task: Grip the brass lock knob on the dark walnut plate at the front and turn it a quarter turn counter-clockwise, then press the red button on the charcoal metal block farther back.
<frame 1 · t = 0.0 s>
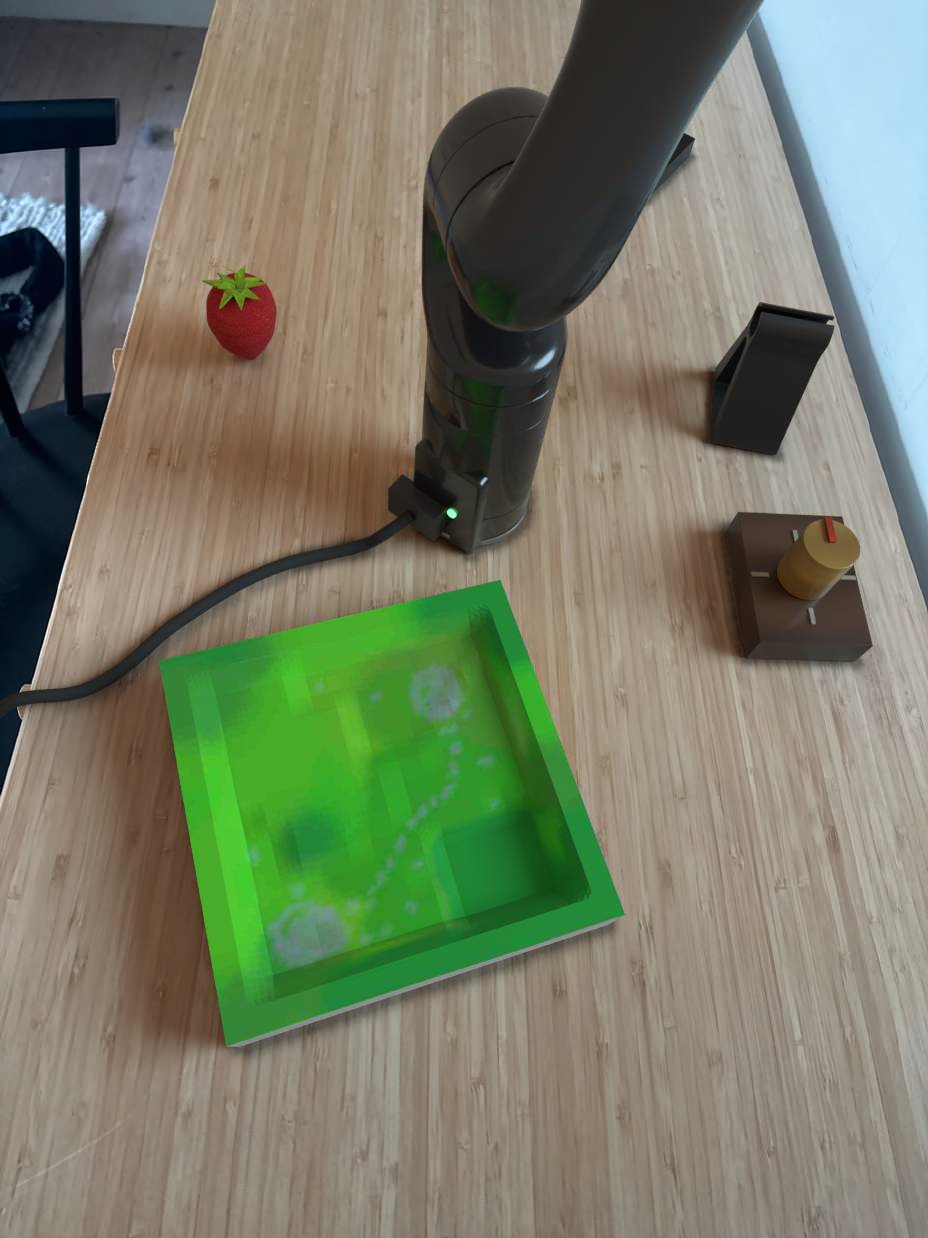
button: (639, 119, 92), point 4 cm above the table, slide at 0.1 cm
lock plate: (787, 594, 72), on the table
button block: (628, 158, 96), on the table
lock knob: (818, 559, 67), point 6 cm above the table, hinge at 0.0°
strawberry: (250, 358, 79), on the table
tray: (382, 802, 62), on the table
phone stand: (742, 413, 81), on the table
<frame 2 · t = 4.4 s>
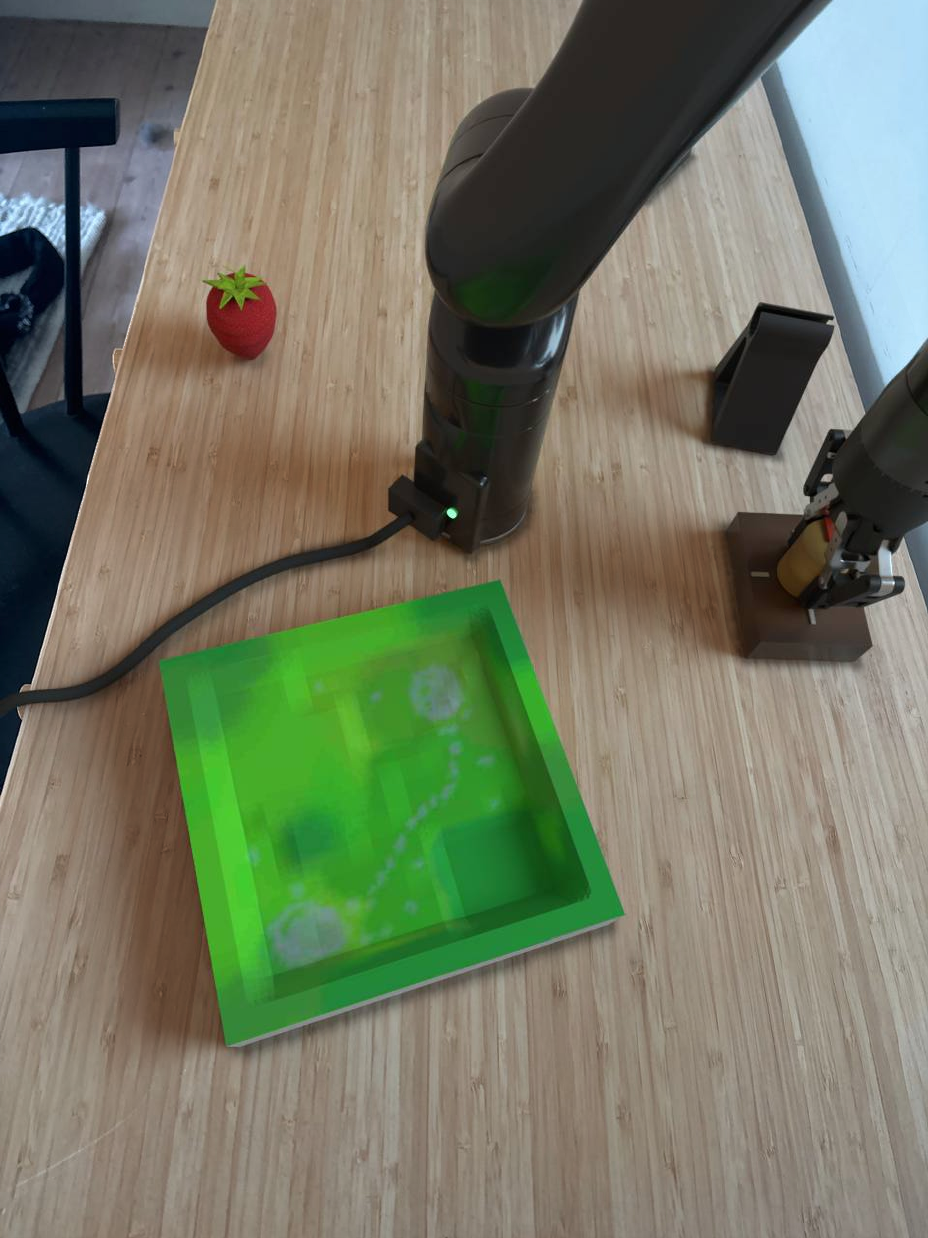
hand: (805, 574, 69), 3 cm above the table, tool pointing down, fingers closed on lock knob, 4 cm apart
lock knob: (818, 559, 67), point 6 cm above the table, hinge at 0.4°, touching gripper
everything else where it was.
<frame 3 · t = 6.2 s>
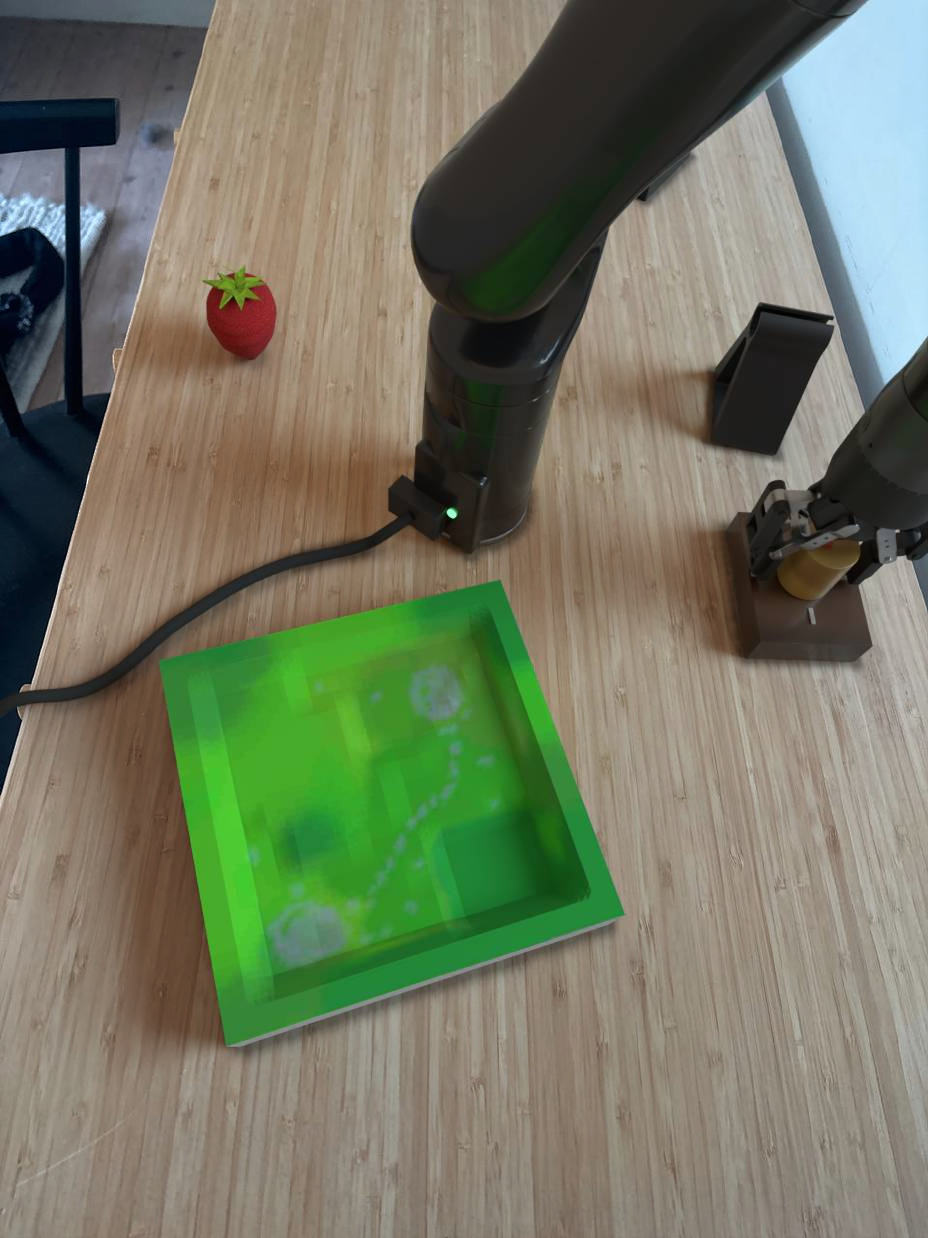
hand: (805, 572, 69), 4 cm above the table, tool pointing down, fingers open, 7 cm apart
lock knob: (818, 559, 67), point 6 cm above the table, hinge at 93.9°
everything else where it was.
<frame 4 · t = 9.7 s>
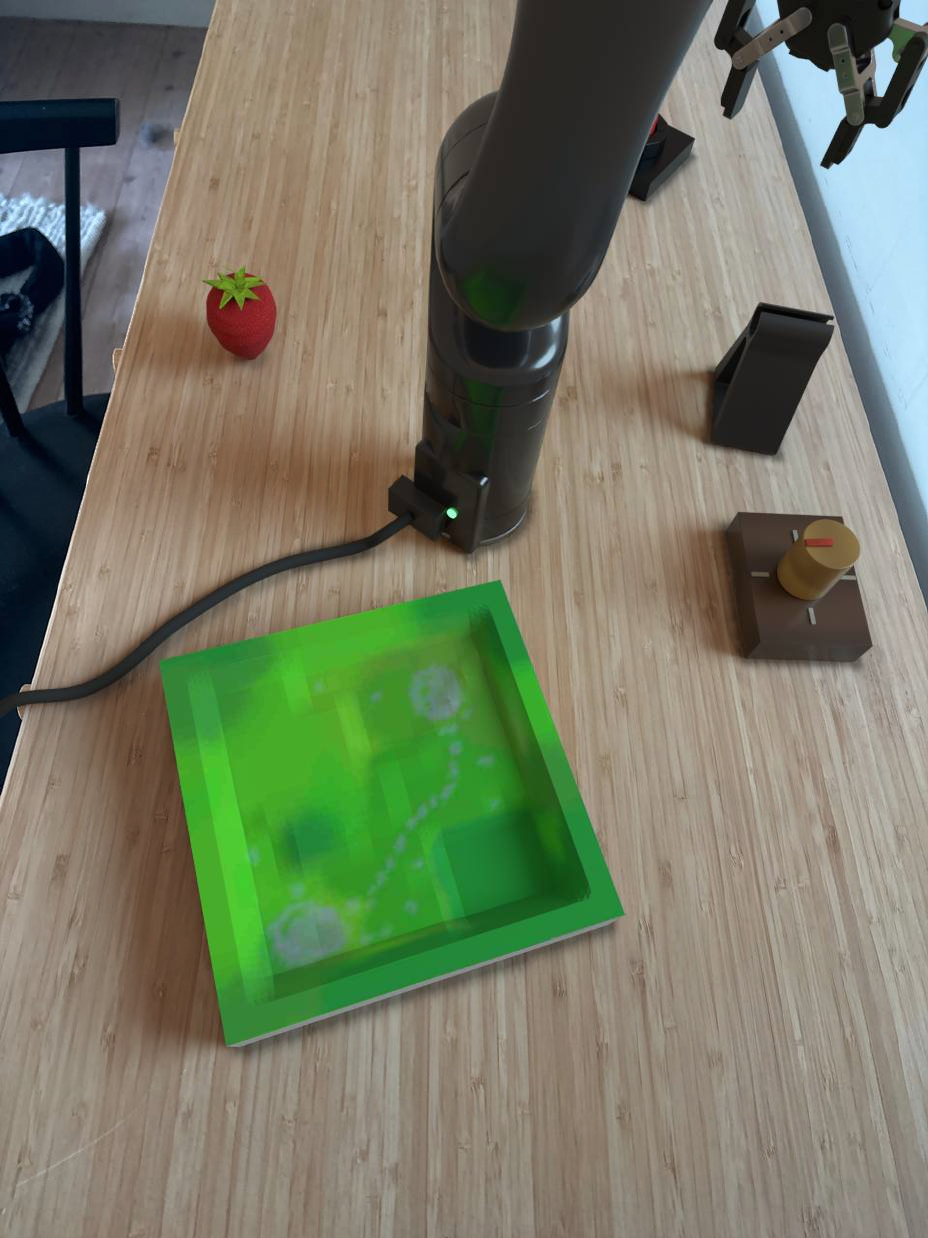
hand: (779, 137, 67), 20 cm above the table, tool pointing down, fingers open, 8 cm apart
nothing on the table moved.
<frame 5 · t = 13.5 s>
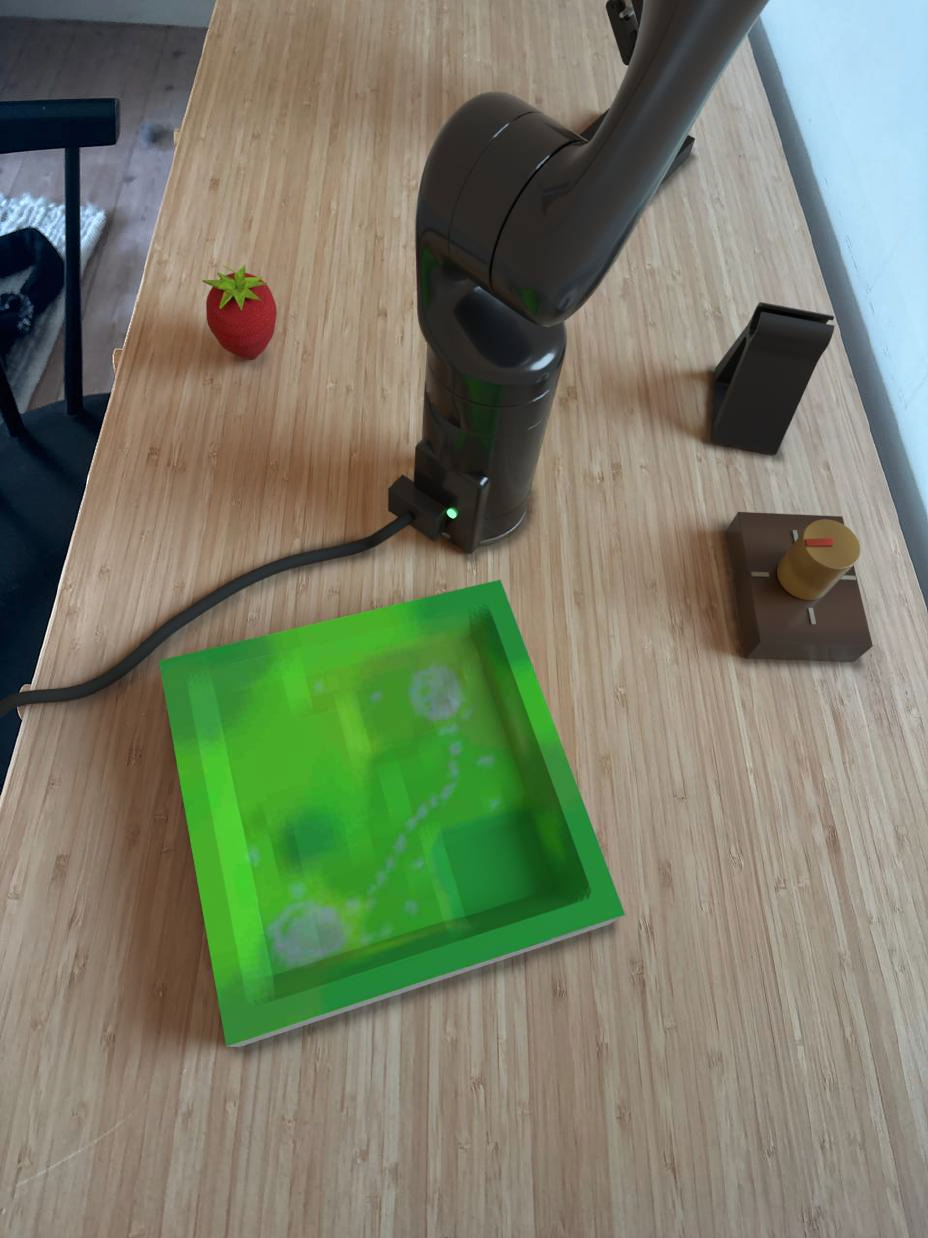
hand: (642, 112, 91), 5 cm above the table, tool pointing down, fingers closed
button: (639, 121, 92), point 4 cm above the table, slide at -0.1 cm, touching gripper
everything else where it was.
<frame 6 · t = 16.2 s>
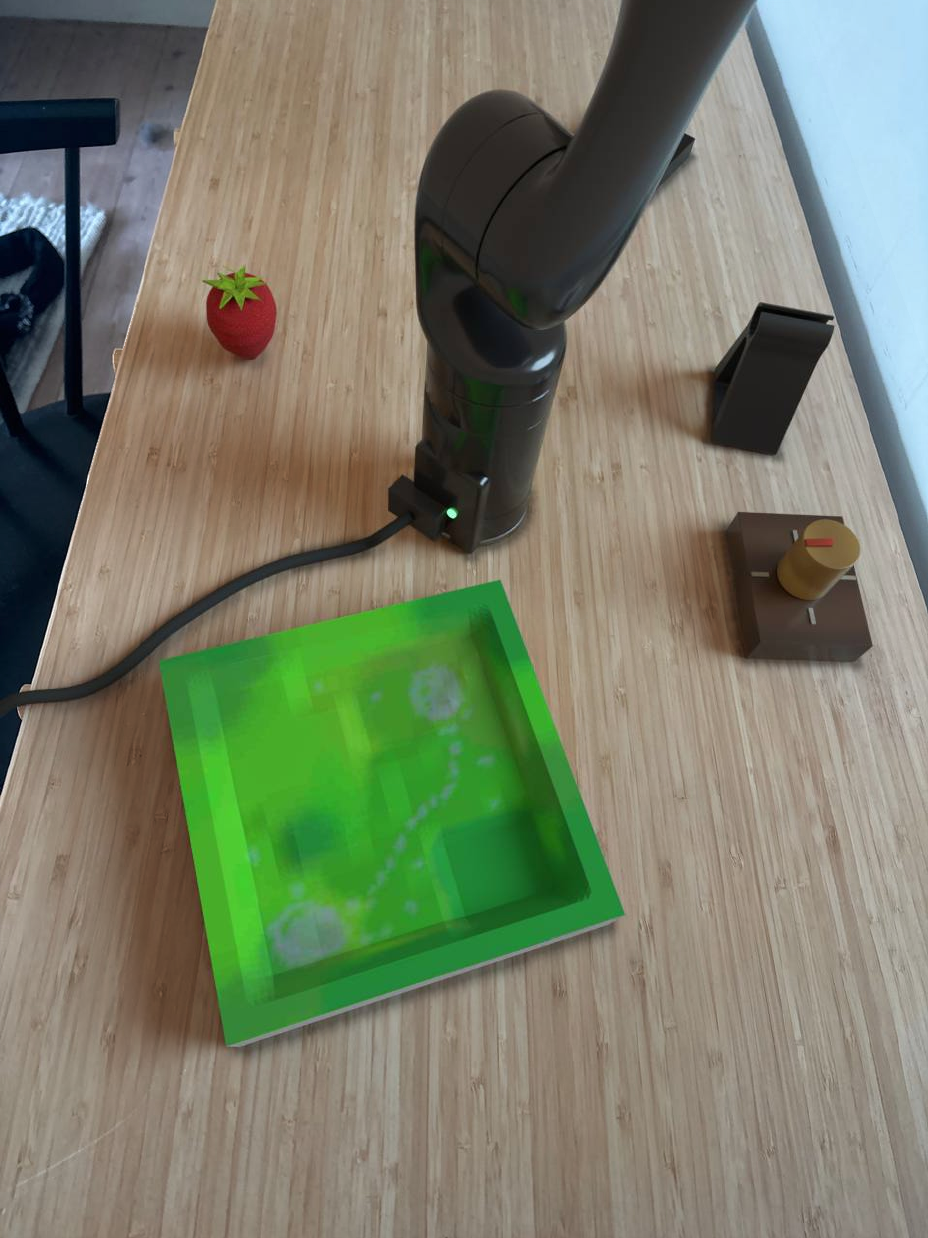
button: (639, 119, 92), point 4 cm above the table, slide at 0.1 cm
everything else where it was.
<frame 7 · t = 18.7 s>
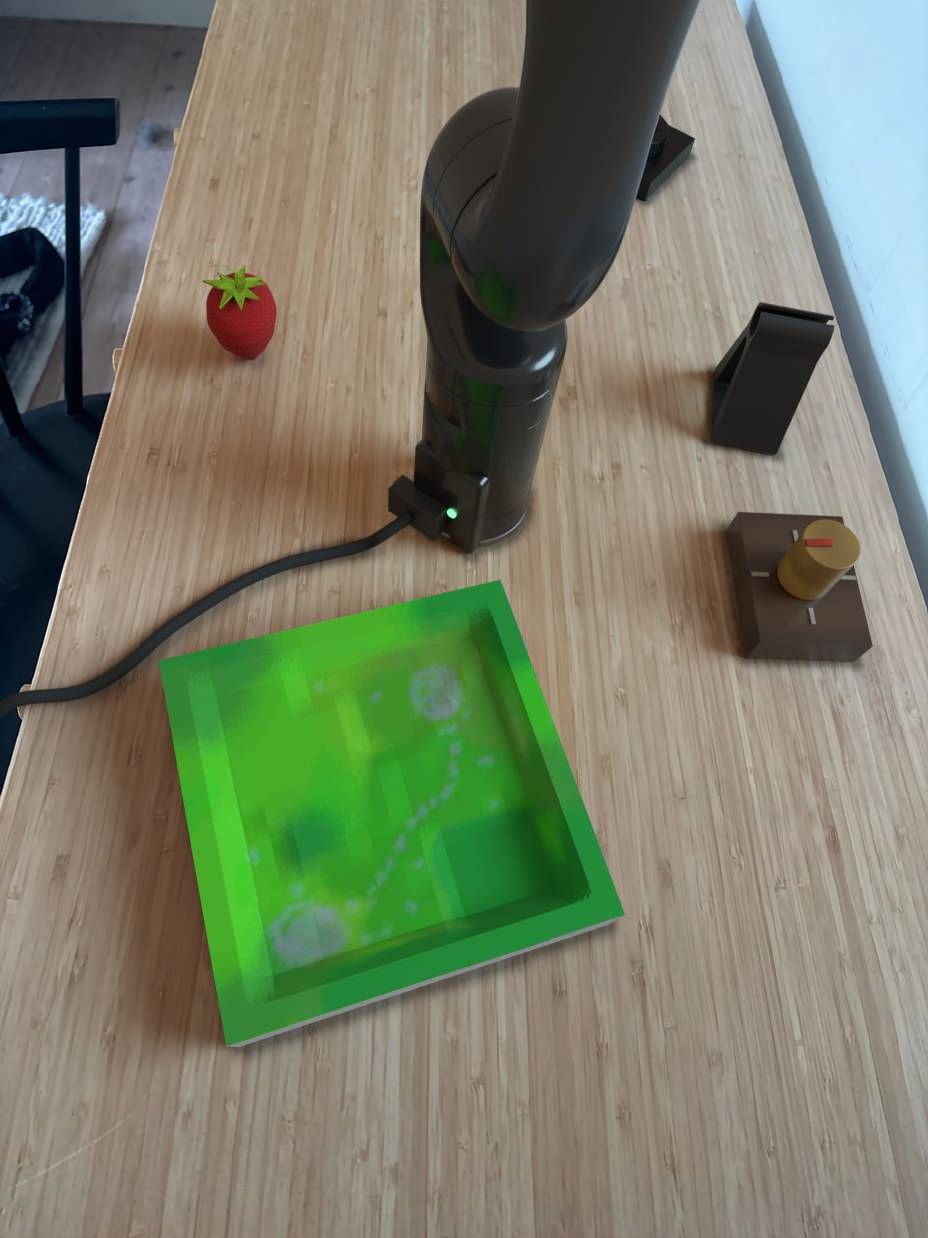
nothing on the table moved.
at the end: lock knob at +94° (first picture: +0°); button pushed in 1.1 cm at the most during the clip, back to where it started at the end; button slide at 0.1 cm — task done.
